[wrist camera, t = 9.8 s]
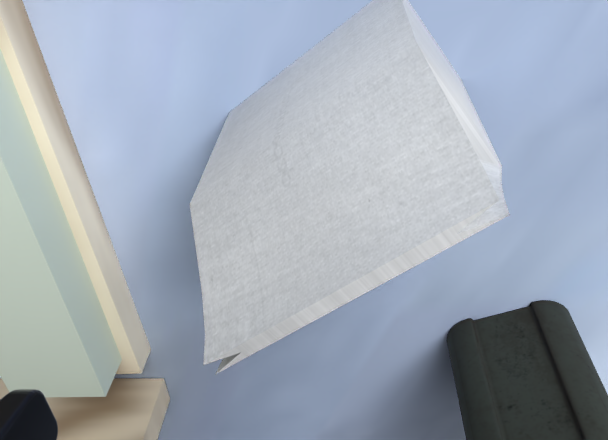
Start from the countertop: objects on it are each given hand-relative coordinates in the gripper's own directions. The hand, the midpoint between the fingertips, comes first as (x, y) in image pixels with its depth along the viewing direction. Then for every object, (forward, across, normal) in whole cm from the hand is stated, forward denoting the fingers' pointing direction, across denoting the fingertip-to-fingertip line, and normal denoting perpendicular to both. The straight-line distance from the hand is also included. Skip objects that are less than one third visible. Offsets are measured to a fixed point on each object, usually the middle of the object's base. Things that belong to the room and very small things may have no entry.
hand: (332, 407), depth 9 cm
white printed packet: (+13, 0, 0) cm, 13 cm away
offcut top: (+11, +12, +4) cm, 17 cm away
